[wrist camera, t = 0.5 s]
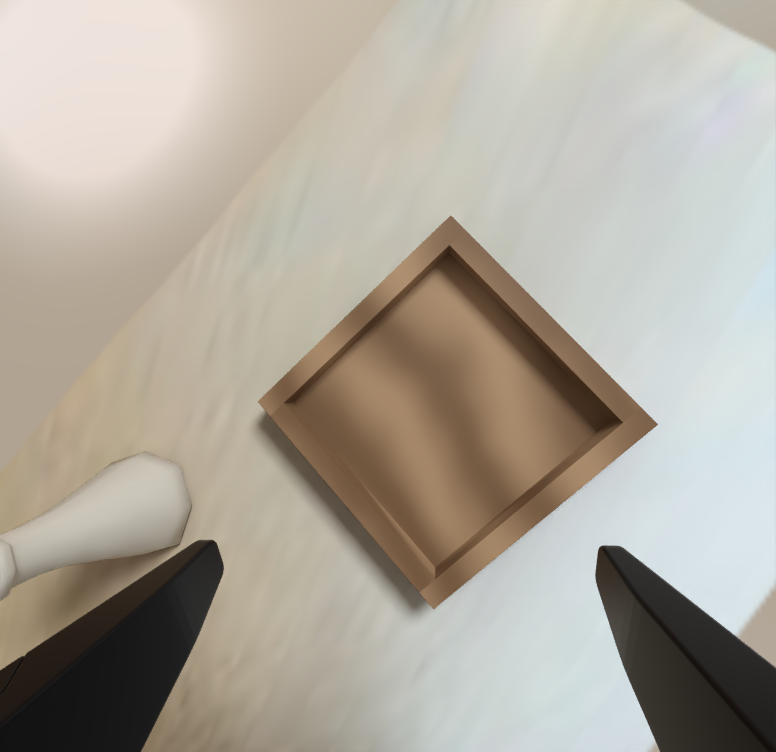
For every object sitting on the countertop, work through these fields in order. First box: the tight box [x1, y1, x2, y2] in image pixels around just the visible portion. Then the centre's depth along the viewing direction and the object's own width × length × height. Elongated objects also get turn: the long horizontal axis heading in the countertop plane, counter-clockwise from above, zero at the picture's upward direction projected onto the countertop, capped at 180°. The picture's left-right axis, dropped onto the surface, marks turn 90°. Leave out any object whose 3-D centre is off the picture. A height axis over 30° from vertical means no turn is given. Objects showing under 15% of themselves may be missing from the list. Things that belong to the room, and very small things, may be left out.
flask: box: [0, 452, 192, 601], centre depth 22 cm, size 7×7×10 cm
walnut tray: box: [258, 216, 658, 609], centre depth 22 cm, size 16×16×2 cm
